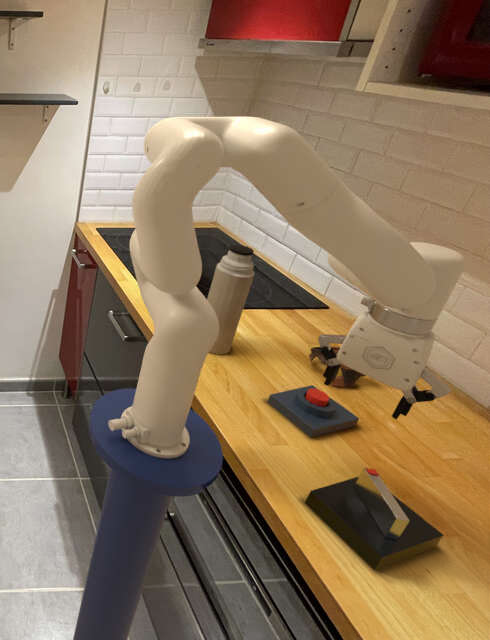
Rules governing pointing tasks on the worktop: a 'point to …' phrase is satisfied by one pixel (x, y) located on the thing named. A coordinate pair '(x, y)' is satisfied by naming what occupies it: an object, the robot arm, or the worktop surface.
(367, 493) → the silver lever handle
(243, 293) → the thermos bottle
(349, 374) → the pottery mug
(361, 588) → the worktop surface
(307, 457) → the worktop surface
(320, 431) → the red push button box
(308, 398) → the button
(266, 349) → the worktop surface
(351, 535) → the base
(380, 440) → the worktop surface
